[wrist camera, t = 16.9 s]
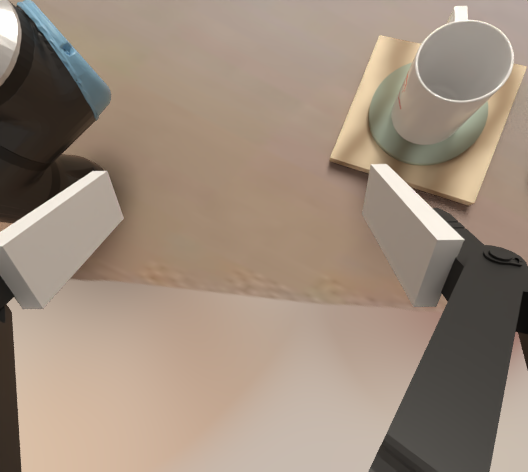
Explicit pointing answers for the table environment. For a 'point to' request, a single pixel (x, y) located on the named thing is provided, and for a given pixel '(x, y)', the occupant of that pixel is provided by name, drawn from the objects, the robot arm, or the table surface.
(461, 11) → the mug
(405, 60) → the serving board
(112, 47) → the table surface
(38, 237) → the robot arm
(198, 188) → the table surface
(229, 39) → the table surface
